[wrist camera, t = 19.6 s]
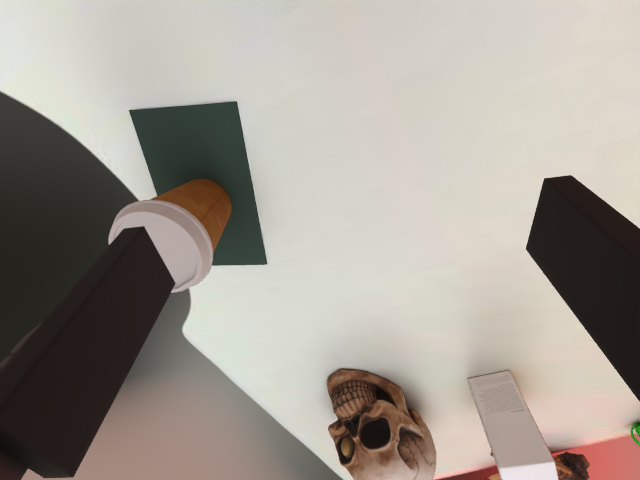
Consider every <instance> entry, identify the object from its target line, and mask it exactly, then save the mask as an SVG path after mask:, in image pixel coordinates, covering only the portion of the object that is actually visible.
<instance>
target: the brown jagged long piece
mask: <svg viewBox="0 0 640 480" xmlns="http://www.w3.org/2000/svg"><path fill="white" fill-rule="evenodd" d="M491 456H493V454H491ZM493 457H494V456H493ZM553 459H554V461H555V464H556V469H557V473H558V478H559V480H587V479H588V478H589V475H588V472H587V470H586V469H587V468H588V467H589V462H588V461H587V459H586V458H585V457H584V455H581V454H580V455H577V454H571V453H568V452H566V453H564V454H560V455H557V456H556V457H553ZM483 480H486V479H483ZM489 480H502V479H501V476H500V474H499V472H498V473H496V474H493V475H491V476H489Z"/></svg>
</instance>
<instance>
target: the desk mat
mask: <svg viewBox="0 0 640 480" xmlns="http://www.w3.org/2000/svg"><path fill="white" fill-rule="evenodd" d="M129 112H130V115H131V118H132V121H133V124H134V127H135V130H136V133H137V136H138V139H139V142H140V145H141V148H142V151H143V154H144V157H145V160H146V163H147V166H148V169H149V172H150V175H151V178H152V181H153V184H154V187H155V190H156V193H157V196H159V195H161V194H164V193H166V192H168V191H170V190H172V189H175V188H177V187H179V186H181V185H183V184H185V183H188V182H190V181H192V180H194V179H208V180H211V181H214V182H216V183H217V184H219V185H220V186H221V187H222V188H223V189H224V190H225V191H226V192H227V194H228V195H229V197H230V200H231V205H232V212H231V215H230V217H229V219H228V221H227V224H226V226H225V228H224V230H223V232H222V235H221V237H220V239H219V241H218V244H217V246H216V248H215V251H214V253H213V261H212V265H264V264H267V261H266V256H265V250H264V245H263V240H262V234H261V229H260V224H259V218H258V213H257V208H256V202H255V197H254V192H253V186H252V181H251V176H250V170H249V165H248V160H247V154H246V149H245V144H244V138H243V133H242V128H241V122H240V117H239V112H238V106H237V102H228V103H215V104H203V105H191V106H178V107H166V108H153V109H141V110H130V111H129ZM212 265H211V266H212Z"/></svg>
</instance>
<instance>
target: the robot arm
mask: <svg viewBox="0 0 640 480" xmlns="http://www.w3.org/2000/svg"><path fill="white" fill-rule="evenodd" d="M526 250H527V251H528V253H529V254H530V255H531V257H532V258H533V259H534V261H535V262H536V263H537V265H538V266H539V267H540V269H541V270H542V271H543V273H544V274H545V275H546V277H547V278H548V279H549V281H550V282H551V283H552V285H553V286H554V287H555V289H556V290H557V291H558V293H559V294H560V296H561V297H562V298H563V300H564V301H565V302H566V304H567V305H568V306H569V308H570V309H571V310H572V312H573V313H574V314H575V316H576V317H577V318H578V320H579V321H580V322H581V324H582V325H583V326H584V328H585V329H586V330H587V332H588V333H589V334H590V336H591V337H592V338H593V340H594V341H595V342H596V344H597V345H598V346H599V348H600V349H601V350H602V352H603V353H604V354H605V356H606V357H607V358H608V360H609V361H610V362H611V364H612V365H613V366H614V368H615V369H616V370H617V372H618V373H619V374H620V376H621V377H622V378H623V380H624V381H625V383H626V384H627V385H628V387H629V388H630V389H631V391H632V392H633V393H634V395H635V396H636V397H637V399H638V400H639V401H640V229H639V228H638V227H637V226H636V225H634V224H633V223H632V222H630V221H629V220H628V219H627V218H625V217H624V216H623V215H621V214H620V213H619V212H618V211H616V210H615V209H614V208H612V207H611V206H610V205H609V204H607V203H606V202H605V201H603V200H602V199H601V198H600V197H598V196H597V195H596V194H594V193H593V192H592V191H591V190H589V189H588V188H587V187H585V186H584V185H583V184H582V183H580V182H579V181H578V180H576V179H575V178H574V177H573V176H571V175H570V176H561V177H553V178H544V181H543V185H542V189H541V193H540V197H539V201H538V204H537V208H536V212H535V216H534V220H533V224H532V227H531V231H530V235H529V239H528V243H527V246H526ZM175 284H176V283H175V281H174V279H173V277H172V276H171V274H170V272H169V270H168V268H167V267H166V265H165V263H164V261H163V259H162V258H161V256H160V254H159V252H158V250H157V248H156V247H155V245H154V243H153V241H152V239H151V238H150V236H149V234H148V232H147V230H146V229H145V227H144V226H140V227H132V228H124V229H123V230H122V231H121V232H120V233H119V235H118V236H117V237H116V238H115V239H114V240H113V241H112V243H111V244H110V245H109V246H108V247H107V248H106V250H105V251H104V252H103V253H102V254H101V255H100V256H99V258H98V259H97V260H96V261H95V262H94V263H93V265H92V266H91V267H90V268H89V269H88V270H87V272H86V273H85V274H84V275H83V276H82V277H81V278H80V280H79V281H78V282H77V283H76V284H75V285H74V286H73V288H72V289H71V290H70V291H69V292H68V293H67V295H66V296H65V297H64V298H63V299H62V300H61V302H60V303H59V304H58V305H57V306H56V307H55V308H54V310H53V311H52V312H51V313H50V314H49V316H48V317H47V318H46V319H45V320H44V321H43V322H42V323H41V324H39V325H38V326H37V327H36V328H34V329H33V330H32V331H31V332H29V333H28V334H27V335H25V337H23V339H22V340H21V341H20V342H19V343H18V344H17V345H16V347H15V348H14V349H13V350H12V351H11V352H10V356H9V357H6V358H5V359H4V360H3V361H2V362H1V364H0V480H21V479H22V477H23V475H24V474H25V472H26V470H27V469H28V468H29V469H30V470H32V471H34V472H35V473H37V474H39V475H40V476H42V477H43V478H63V477H64V478H66V477H74V475H75V473H76V471H77V469H78V467H79V465H80V463H81V462H82V460H83V458H84V456H85V454H86V452H87V450H88V448H89V447H90V445H91V443H92V441H93V439H94V437H95V435H96V433H97V431H98V429H99V427H100V426H101V424H102V422H103V420H104V418H105V416H106V414H107V412H108V411H109V409H110V407H111V405H112V403H113V401H114V399H115V397H116V395H117V393H118V392H119V389H120V388H121V386H122V384H123V382H124V380H125V378H126V376H127V375H128V373H129V371H130V369H131V367H132V365H133V363H134V361H135V359H136V357H137V356H138V354H139V352H140V350H141V348H142V346H143V344H144V342H145V340H146V339H147V337H148V334H149V333H150V331H151V329H152V327H153V325H154V323H155V321H156V320H157V318H158V316H159V314H160V312H161V310H162V308H163V306H164V305H165V302H166V300H167V299H168V297H169V295H170V293H171V291H172V289H173V287H174V286H175Z"/></svg>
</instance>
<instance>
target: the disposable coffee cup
mask: <svg viewBox="0 0 640 480" xmlns="http://www.w3.org/2000/svg"><path fill="white" fill-rule="evenodd" d="M231 212H232V205H231V200H230V197H229V195H228V194H227V192H226V191H225V190H224V189H223V188H222V187H221V186H220V185H219V184H217V183H216V182H214V181H211V180H208V179H194V180H192V181H190V182H188V183H185V184H183V185H181V186H179V187H177V188H175V189H172V190H170V191H168V192H166V193H164V194H161V195H159V196H157V197H155V198H153V199H151V200H143V201H138V202H135V203H132V204H130V205H128V206H126V207H125V208H124V209H122V210H121V211H120V212H119V213H118V215H117V216H116V218H115V220H114V223H113V226H112V228H111V231H110V234H109V245H110V244H111V243H112V241H113V240H114V239H115V238H116V237H117V236H118V235H119V233H120V232H121V231H122V230H123V229H124V228H132V227H140V226H144V227H145V229H146V230H147V232H148V234H149V236H150V238H151V239H152V241H153V243H154V245H155V247H156V248H157V250H158V252H159V254H160V256H161V258H162V259H163V261H164V263H165V265H166V267H167V268H168V270H169V272H170V274H171V276H172V277H173V279H174V281H175V283H176V284H175V286H174V287H173V289H172V291H171V293H173V292H179V291H183V290H185V289H187V288H190V287H191V286H194V285H196V284H198V283H200V282H201V281H202V280H203V279H204V278H205V277H206V276H207V274H208V273H209V271H210V269H211V265H212V261H213V253H214V251H215V248H216V246H217V244H218V241H219V239H220V237H221V235H222V232H223V230H224V228H225V226H226V224H227V221H228V219H229V217H230V215H231Z"/></svg>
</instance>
